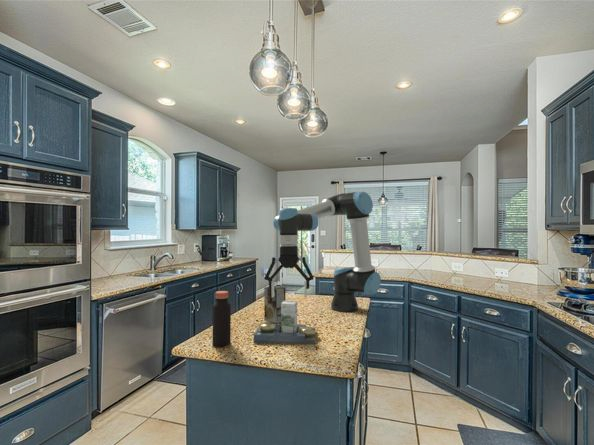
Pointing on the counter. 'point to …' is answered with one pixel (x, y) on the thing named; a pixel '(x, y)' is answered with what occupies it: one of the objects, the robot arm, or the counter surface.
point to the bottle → (221, 320)
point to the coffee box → (273, 303)
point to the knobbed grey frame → (275, 333)
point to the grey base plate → (309, 339)
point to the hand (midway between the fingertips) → (289, 296)
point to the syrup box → (289, 317)
